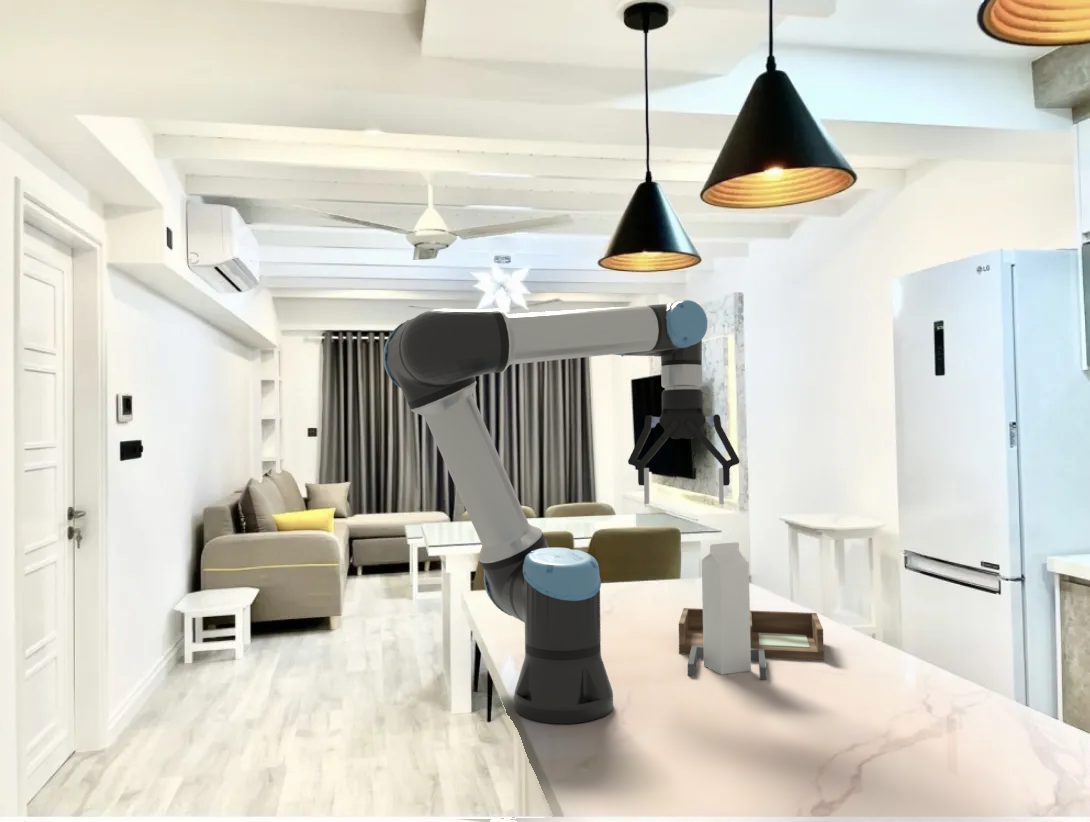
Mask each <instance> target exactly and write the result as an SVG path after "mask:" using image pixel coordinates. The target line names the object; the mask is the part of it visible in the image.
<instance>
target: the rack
mask: <svg viewBox="0 0 1090 822" xmlns="http://www.w3.org/2000/svg"><path fill="white" fill-rule="evenodd" d="M750 644H751V648H755V649H764V653H765V659H781V660H782V659H783V660H785V659H786V660H801V661H802V660H803V661H804V660H805V661H819V662H820V661H825V652H824V628H823V625H822V623H821V621H820V618H819V616H818V614H817V612H801V611H800V612H799V611H797V612H796V611H774V610H772V611H770V610H750ZM692 645H693V646H703V608H695V607H693V608H691V607H690V608H688V607H683V608H682V612H681V615H680V618H679V621H678V654H682V653H686V654H687V655H690V651H691V647H692Z"/></svg>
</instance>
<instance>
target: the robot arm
mask: <svg viewBox="0 0 1090 822" xmlns="http://www.w3.org/2000/svg"><path fill="white" fill-rule="evenodd" d="M706 314H707V313H706V312H705V310H704V309H703V307H702V306H701V305H700V304H699V303H697V302H696V301H693V300H689V299H684V300H674V301H673V302H671V303H664V304H663V303H661V304H649V305H630V306H629V305H628V306H617V307H616V306H615V307H603V308H589V309H588V308H587V309H573V310H560V311H545V312H544V311H542V312H528V313H527V312H526V313H516V314H515V313H512V314H505V313H504V312H503V311H502V309H499V308H484V309H483V308H479V309H478V308H475V309H472V308H468V309H467V308H464V309H463V308H462V309H461V308H459V309H457V308H438V309H437V308H435V309H432V310H430V309H429V310H427V311H424V312H421V313H420V314H418V315H417V316H415V317H413V318H410V319H407V320H405V321H404V322H402V323H399V325H397V327H396V328H394V329H393V331H392V332H391V333H390V335H389V336H388V338H387V340H386V342H385V344H384V347H383V353H382V359H383V360H382V362H383V366H384V370H385V371H386V374H387V376H388V377H389V378H390V380H391V381H392V382H393V383H394V385H396V386H397V388H400V390H401V392H402V394H403V396H404V398H405V400H406V403H407V404H408V406H409V409H410V411H411V412H413V413H415V414H418V415H420V416H422V417H423V418H424V419H425V422H426V423H427V426H428V428H429V430H430V433H431V435H432V437H433V439H434V442H435V444H436V446H437V448H438V451H439V452H440V455H441V457H442V459H443V462H444V463H445V466H446V468H447V470H448V473H449V475H450V477H451V479H452V481H453V484H454V486H455V488H456V491H457V492H458V495H459V497H460V499H461V501H462V503H463V505H464V508H465V510H466V512H467V515H468V517H469V519H470V521H471V524H472V526H473V529H475V532H476V534H477V537H478V539H479V541H480V543H481V545H482V546H481V549H480V551H479V554H478V557H477V558H478V561H479V563H480V566H481V568H482V570H483V584H484V589H485V593H486V595H487V597H489V600H491V602H492V603H493V605H495V607H496V608H497V609H498V610H500V611H501V612H503V613H504V614H506V615H508V616H510V617H513V618H515V619H517V620H519V621H521V622H522V623H524V651H525V652H524V658H523V659H524V660H523V662H522V666H521V669H520V673H519V675H518V679H517V683H516V686H515V690H514V696H513V698H514V701H513V702H514V703H513V704H514V711H516V713H517V714H519V715H520V716H521V717H524V718H526V719H529V720H533V721H536V722H541V723H546V724H547V723H549V724H578V723H584V722H590V721H594V720H597V719H600V718H603V717H605V716H606V715H608V714H610V713H611V712H612V711H613V709H614V692H613V691H614V690H613V689H612V685H611V682H610V680H609V677H608V673H607V670H606V667H605V664H604V661H603V657H602V651H601V650H602V648H601V641H602V640H601V639H602V638H601V637H602V636H601V585H602V580H601V577H600V576H601V575H600V568H599V566H600V565H599V563H598V561H597V560H596V558H595V557H594V556H592V555H591V554H590V553H587V552H586V551H583V550H579V549H571V548H569V547H568V548H567V547H550V546H549V544H548V542H547V539H546V538H545V535H544V533H543V531H542V529H541V528H539V527H538V526H537V527H536V526H534V525H532V524H530V523H529V522H528V519H527V516H526V514H525V512H524V510H523V508H522V507H523V506H522V505H521V503H520V500H519V499H518V496H517V494H516V492H515V490H514V487H513V485H512V483H511V480H510V479H509V476H508V473H507V471H506V469H505V467H504V464H503V462H502V460H501V458H500V455H499V453H498V451H497V449H496V446H495V444H494V442H493V439H492V437H491V435H490V432H489V430H488V428H487V426H486V423H485V421H484V419H483V417H482V415H481V412H480V410H479V408H478V405H477V403H476V401H475V398H474V396H473V393H474V390H475V388H476V386H477V384H478V383H477V380H476V377H478V376H482V375H489V374H495V373H502V372H503V373H504V372H505V371H506V370H507V368H508V367H509V366H510V365H519V364H528V363H529V364H531V363H541V362H550V361H559V360H570V359H581V358H590V357H598V356H599V357H600V356H608V355H611V356H612V355H614V356H621V357H626V356H627V357H628V356H629V357H630V356H634V357H660V362H661V363H660V369H661V371H660V372H661V373H660V374H661V378H660V379H661V387H662V388H664V390H662V392H661V415H660V416H653V415H646V416H645V418H644V427H643V429H642V431H641V433H640V435H639V438H638V439H637V442H636V443H635V446H634V448H633V449H632V452H631V454H630V456H629V458H628V460H627V463H628V464H629V465H630V466H633V467H635V468H637V484H638V485H639V486H643V487H644V488H643V491H644V492H643V493H644V497H643V502H644V504H645V505H649V504H650V468H649V467H646V466H647V464H648V463H649V462H650V460H651V459H653V457H654V456H655V455H656V453H657V452H658V451H659V450H660V449H661V448H662V447H663V445H664V444H665V442H666V441H667V440H668V439H669V438H671V439H674V440H680V439H686V440H692V439H694V438H697V439H698V440H699V441H700V442H701V443H702V444H703V445H704V447H705V448H706V449H707V450H708V451H709V452H710V453H711V454H712V456H713V457H714V458H715V459H716V460H717V461H718V462H719V463H720V465H721V466H722V467H718V504H719V505H724V503H725V501H724V500H725V499H724V495H725V494H724V486H729V485H730V482H731V481H730V480H731V479H730V477H731V476H730V468H732V467H734V466H737V465H739V463H740V459H739V457H738V455H737V453H736V451H735V449H734V447H733V445H732V444H731V442H730V440H729V438H728V436H727V435H726V432H725V430H724V429H723V427H722V419H721V416H720V415H719V414H718V413H717V414H714V415H709V416H705V415H704V410H703V409H704V403H703V402H704V401H703V399H704V397H703V396H704V395H703V394H704V392H703V391H702V389H700V388H701V387H703V351H702V349H703V348H702V347H703V344H702V343H703V342H702V341H703V339H704V337H705V336H706V333H707V330H708V317H707V315H706ZM706 423H708V424H709V426H710V427H713V428H714V429H715V432H716V434H717V435H718V437H719V439H720V441H721V443H722V445H723V446H724V448H725V451H726V452H727V455H728V456H729V459H726V457H725V456H723V454H722V453H721V452H720V451H719V450H718V449H717V447H715V445H714V444H713V443H712V442H711V441H710V440H709V439H708V437H707V436H706V435H705V434H704V433H703V432H702V431H701V429H702V428H703V426H705V424H706ZM657 424H660V425H661V427H662V428H663V429H664V431H663V433H662V434H661V435H660V436H659V438H658V439H657V440H656V441H655V442H654V443H653V445H651V447H650V448H649V449H648V450H647V452H646V453H645V455H644V456H643V457H642V458H641V459H640V460H639V459H638V457H639V456H640V453H641V452H642V449H643V447H644V446H645V444H646V441H647V440H648V437H649V435H650V433H651V431H652V429H653V428H655V427H656V426H657Z"/></svg>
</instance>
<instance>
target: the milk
mask: <svg viewBox="0 0 1090 822" xmlns="http://www.w3.org/2000/svg"><path fill="white" fill-rule="evenodd" d="M701 587H702V588H701V591H702V592H701V593H702V596H701V597H702V609H703V652H704V658H703V666H704V667H706V668H707V667H708V669H709V668H710V670H711V669H712V670H711V671H714V672H716V673H718V674H719V675H721V676H722V675H732V674H737V673H746V672H751V671H752V661H751V644H750V611H751V605H750V600H751V598H750V564H749V561H748V560H747V558H746V557H745V556H744V555H743V554H742V552H741V551H740V544H739V542H738V541H737V542H736V541H735V542H723V543H722V542H720V543H711V544H710V545H709V553H708V554H707V555H706V556H705V557H703V558H702V559H701Z"/></svg>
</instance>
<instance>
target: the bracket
mask: <svg viewBox="0 0 1090 822" xmlns="http://www.w3.org/2000/svg"><path fill="white" fill-rule="evenodd" d="M688 655H689V657H688V661H687V676H689V675H694V676H695V672H694V671H696V666H697V660H698V659H704V652H703V646H693V645H692V647H691V651H690V654H688ZM751 662H758V669H759V680H760V681H762V680H763V681H766V680H767V664H766V658H765V653H764V649H755V648H751Z"/></svg>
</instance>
